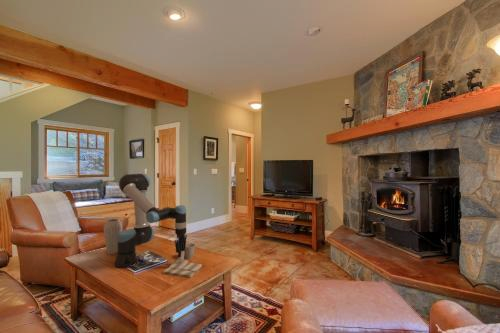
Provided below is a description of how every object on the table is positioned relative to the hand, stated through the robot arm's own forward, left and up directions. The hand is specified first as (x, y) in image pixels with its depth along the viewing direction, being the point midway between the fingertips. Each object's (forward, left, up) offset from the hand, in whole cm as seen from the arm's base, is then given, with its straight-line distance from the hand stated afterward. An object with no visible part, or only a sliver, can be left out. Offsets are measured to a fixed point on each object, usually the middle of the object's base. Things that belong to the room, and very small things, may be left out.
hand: (181, 260), depth 168 cm
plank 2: (+10, -2, -4) cm, 11 cm away
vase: (-66, +7, -5) cm, 67 cm away
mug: (-4, +15, -5) cm, 16 cm away
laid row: (+5, -5, -4) cm, 8 cm away
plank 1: (0, -2, -3) cm, 3 cm away
